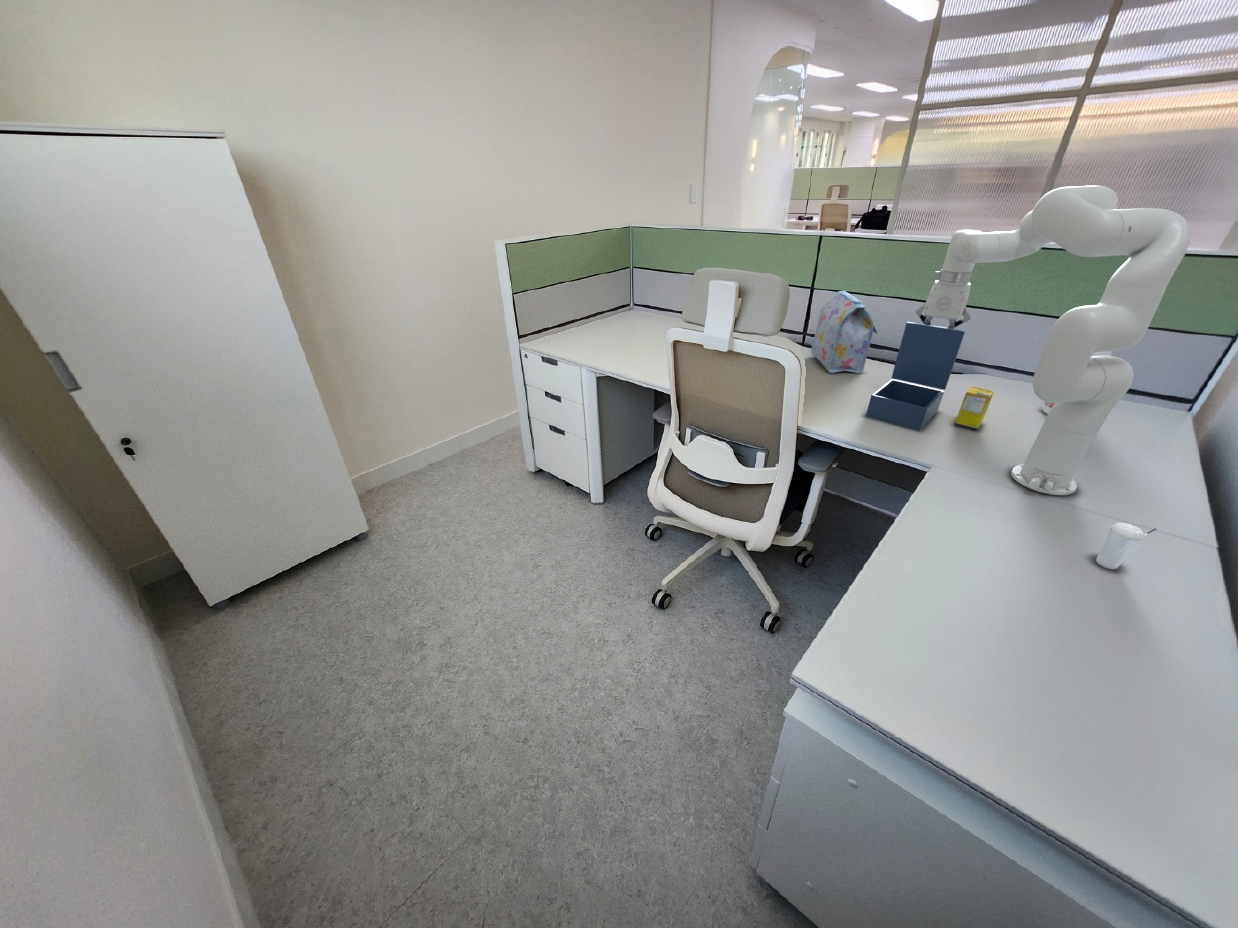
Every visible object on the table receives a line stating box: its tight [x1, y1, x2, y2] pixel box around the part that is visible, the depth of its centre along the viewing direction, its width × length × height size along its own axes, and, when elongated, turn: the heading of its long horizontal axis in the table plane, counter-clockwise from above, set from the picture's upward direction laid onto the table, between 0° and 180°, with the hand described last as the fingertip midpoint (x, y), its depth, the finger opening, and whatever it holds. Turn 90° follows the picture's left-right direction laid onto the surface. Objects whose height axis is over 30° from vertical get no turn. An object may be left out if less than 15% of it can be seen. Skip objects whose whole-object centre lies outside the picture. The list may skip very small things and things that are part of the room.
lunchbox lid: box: [891, 321, 966, 391], centre depth 150 cm, size 18×16×5 cm
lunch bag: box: [810, 290, 879, 374], centre depth 185 cm, size 22×17×26 cm
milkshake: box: [1095, 522, 1157, 570], centre depth 91 cm, size 4×5×10 cm
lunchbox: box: [865, 378, 945, 432], centre depth 150 cm, size 18×16×7 cm
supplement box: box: [954, 385, 995, 432], centre depth 142 cm, size 6×6×11 cm
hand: (935, 338), depth 149 cm, fingers closed on lunchbox lid, 5 cm apart
